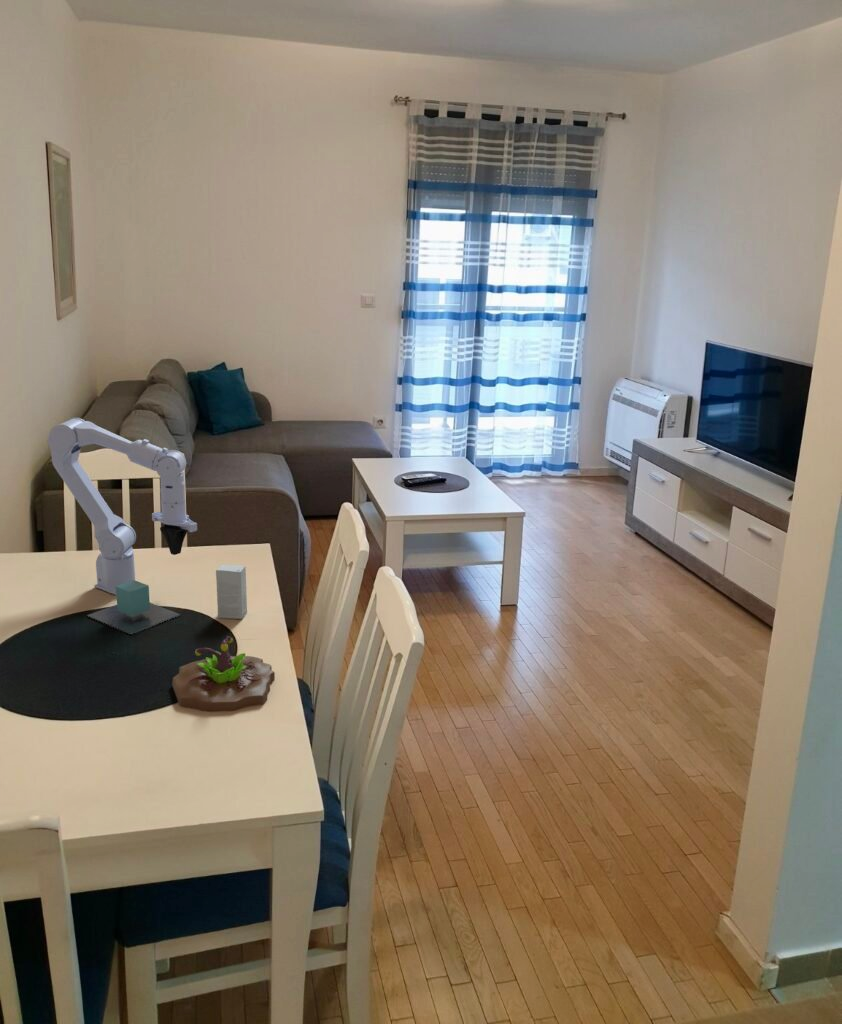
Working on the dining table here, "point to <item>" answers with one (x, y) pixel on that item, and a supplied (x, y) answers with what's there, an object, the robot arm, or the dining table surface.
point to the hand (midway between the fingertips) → (175, 553)
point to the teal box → (132, 598)
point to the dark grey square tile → (133, 618)
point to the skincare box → (231, 591)
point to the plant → (223, 681)
